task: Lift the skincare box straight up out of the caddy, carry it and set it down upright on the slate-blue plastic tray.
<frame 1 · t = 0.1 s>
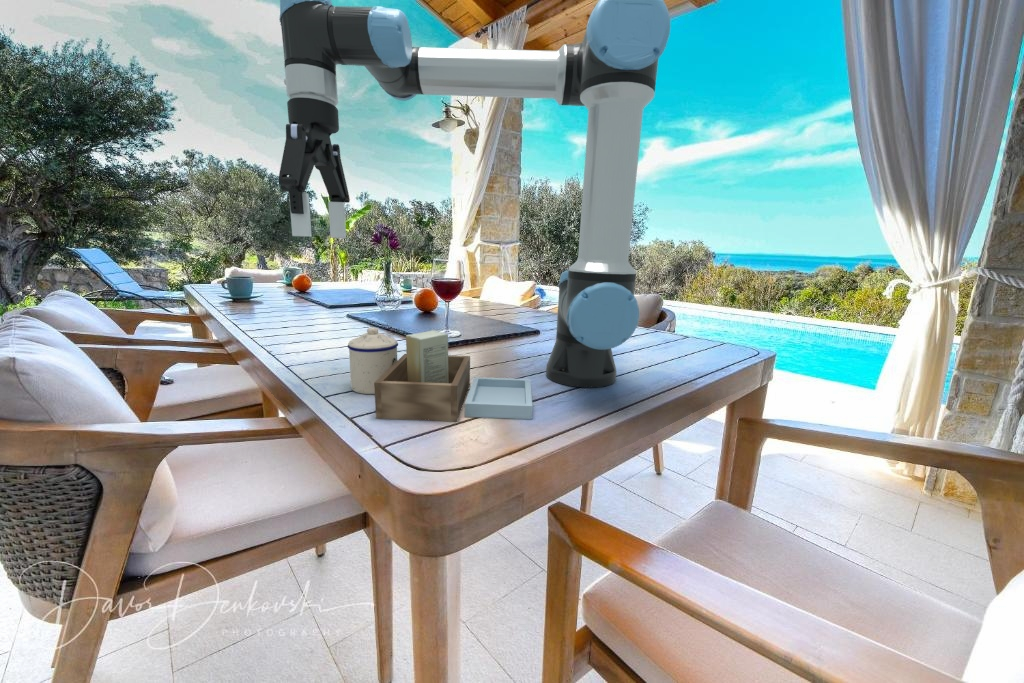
hand: (321, 237, 72), 28 cm above the table, tool pointing down, fingers open, 13 cm apart
skincare box: (428, 400, 75), resting in caddy
tray: (500, 402, 75), on the table
caddy: (428, 399, 75), on the table
cream lidded jar: (375, 385, 82), on the table
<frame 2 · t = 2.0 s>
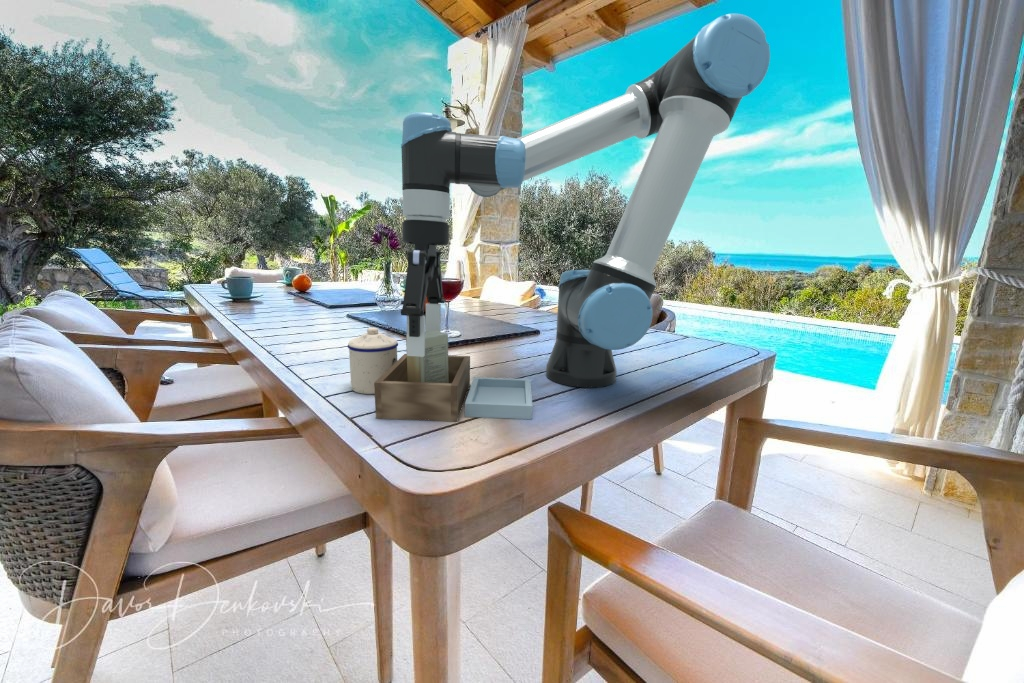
hand: (425, 346, 73), 10 cm above the table, tool pointing down, fingers open, 13 cm apart
nothing on the table moved.
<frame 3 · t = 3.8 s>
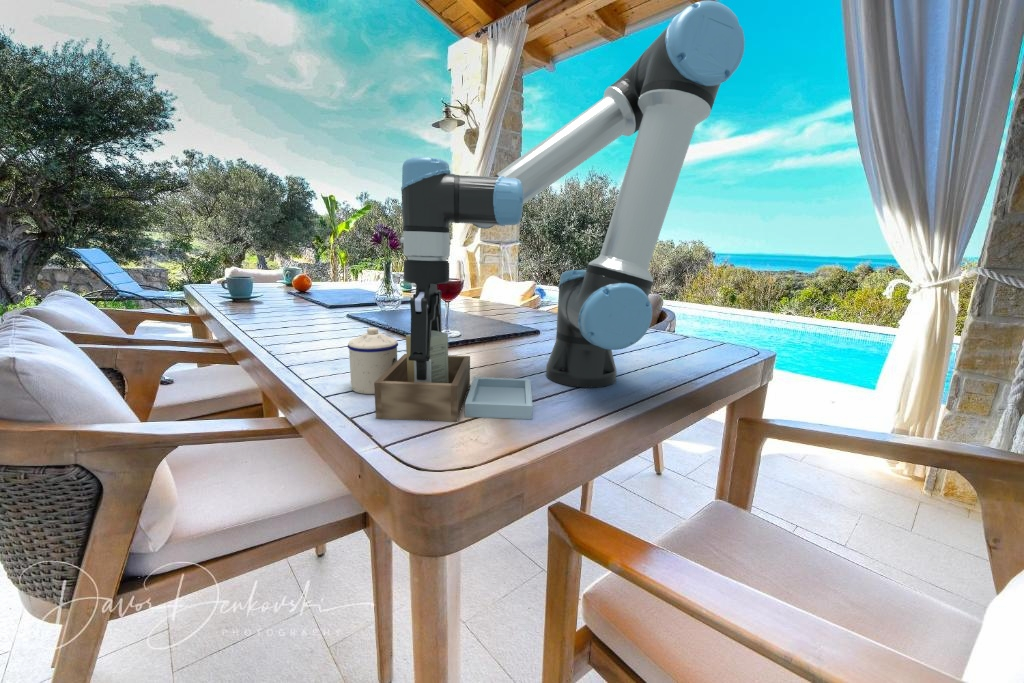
hand: (428, 388, 74), 2 cm above the table, tool pointing down, fingers closed on skincare box, 7 cm apart
skincare box: (428, 400, 75), resting in caddy, touching gripper
everything else where it was.
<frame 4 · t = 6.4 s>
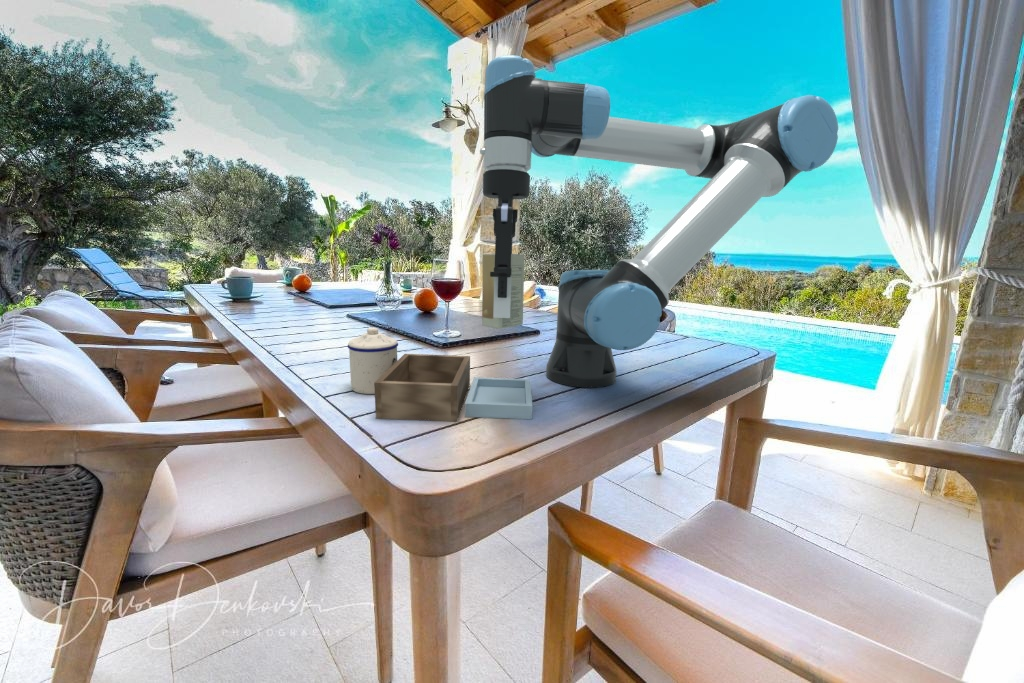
hand: (502, 313, 71), 16 cm above the table, tool pointing down, fingers closed on skincare box, 7 cm apart
skincare box: (502, 327, 72), point 14 cm above the table, touching gripper
everything else where it was.
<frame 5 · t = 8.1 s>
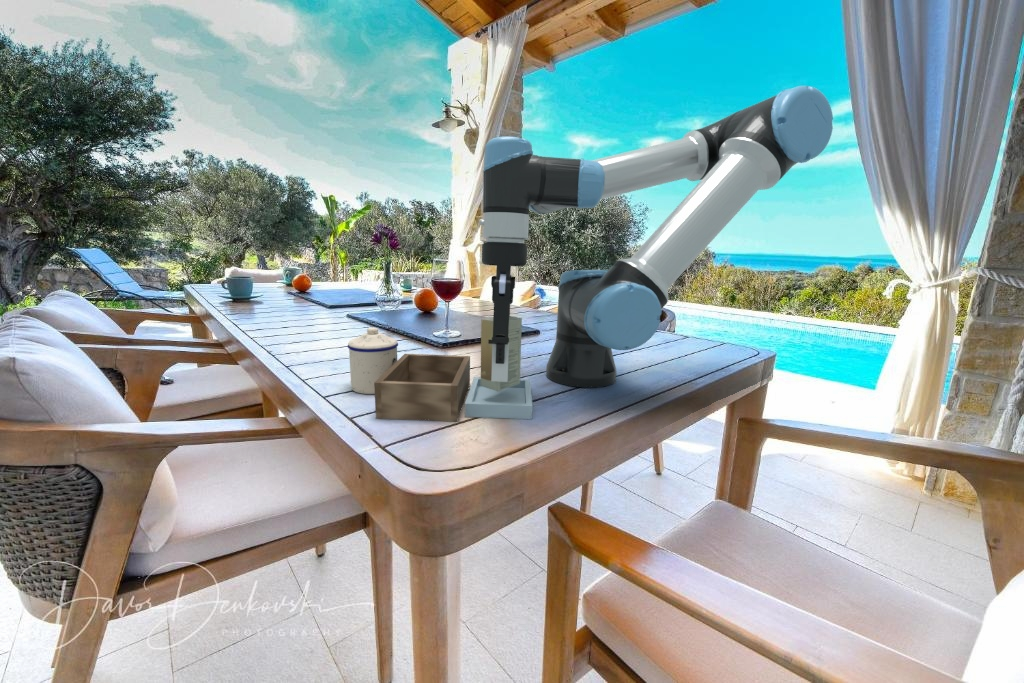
hand: (500, 373, 74), 5 cm above the table, tool pointing down, fingers closed on skincare box, 7 cm apart
skincare box: (499, 386, 74), point 3 cm above the table, touching gripper
everything else where it was.
when the fingers open (4 cm above the table, at t = 9.3 s): skincare box drops 1 cm, resting on tray.
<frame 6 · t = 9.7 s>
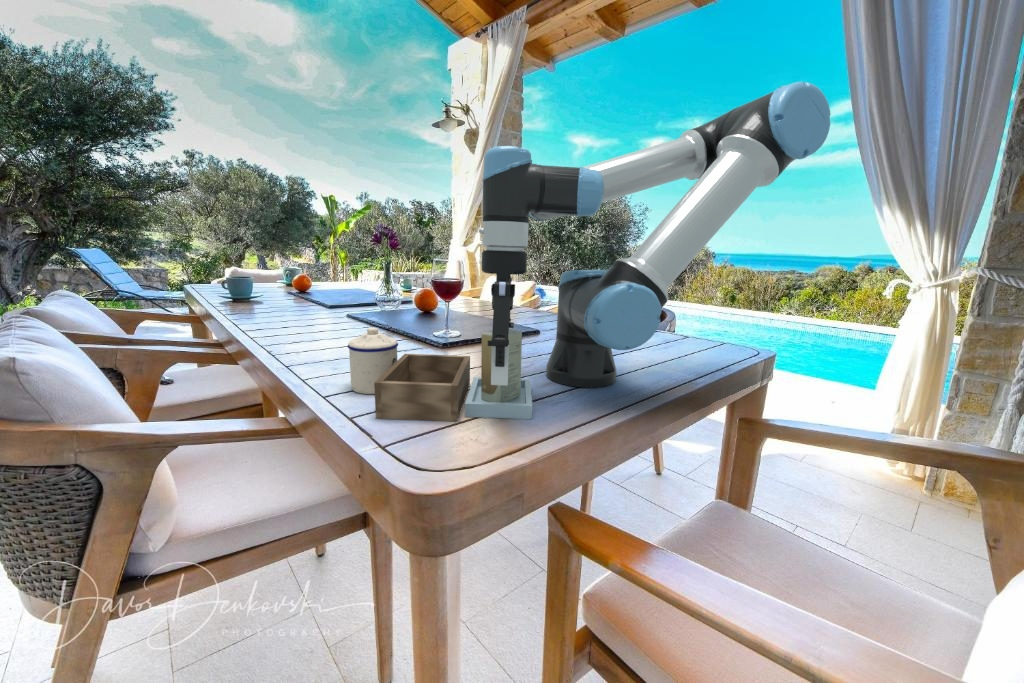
hand: (500, 372, 74), 6 cm above the table, tool pointing down, fingers open, 13 cm apart
skincare box: (500, 399, 75), point 1 cm above the table, touching tray
everything else where it was.
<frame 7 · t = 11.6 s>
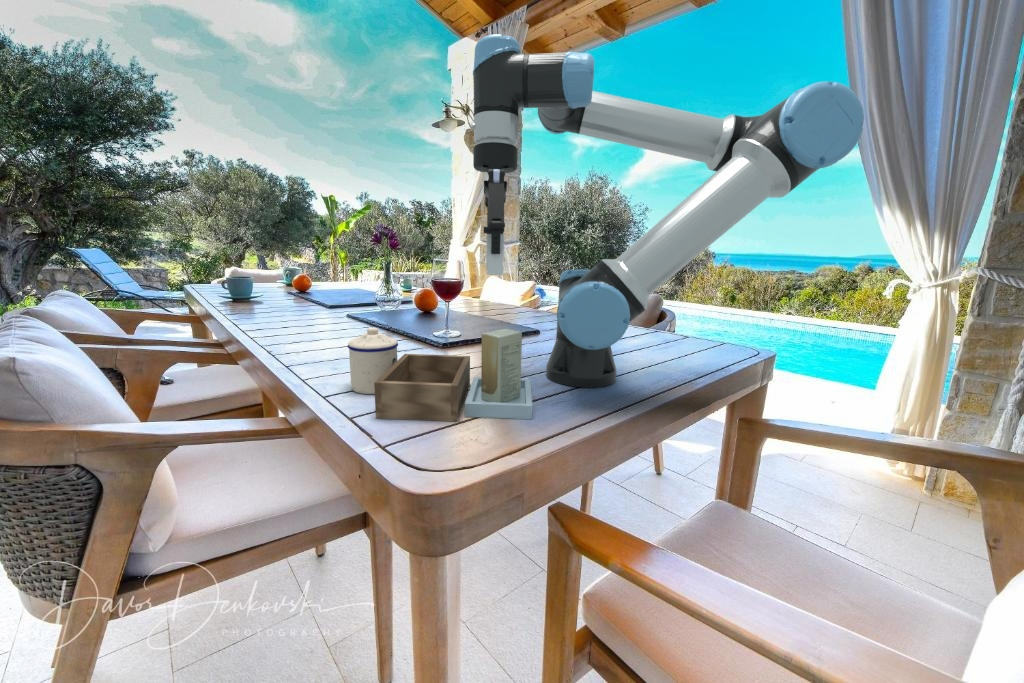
hand: (493, 272, 75), 23 cm above the table, tool pointing down, fingers open, 13 cm apart
nothing on the table moved.
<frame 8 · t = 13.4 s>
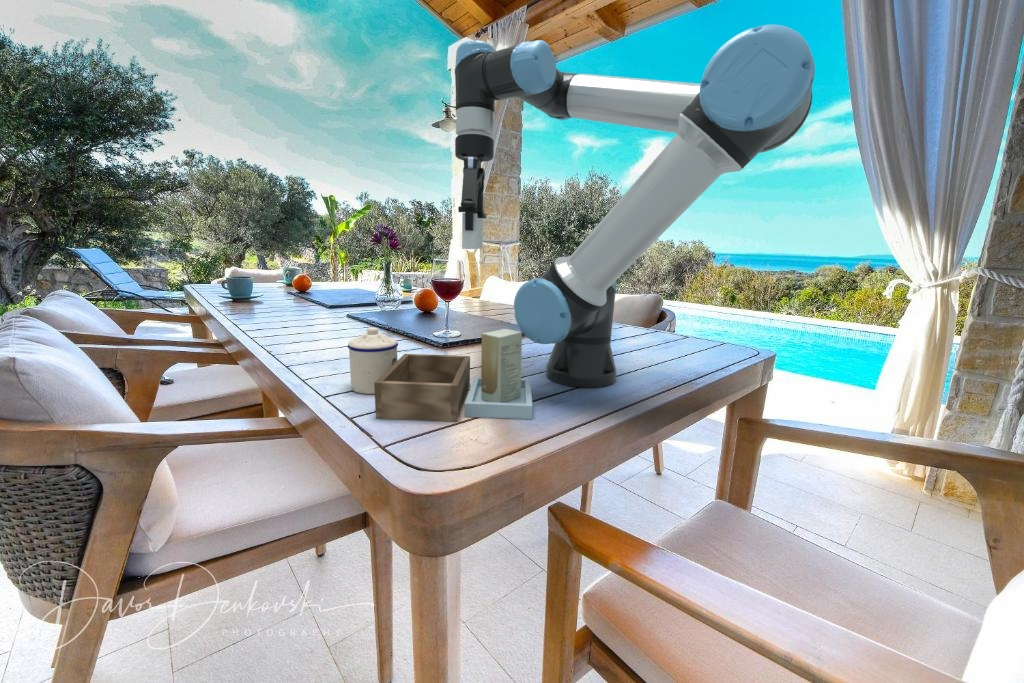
hand: (473, 249, 85), 27 cm above the table, tool pointing down, fingers open, 13 cm apart
nothing on the table moved.
at the end: skincare box inside the target area on the tray (0.1 cm from its centre), point 0.6 cm above the tray's base; skincare box tilted 0°; the gripper is holding nothing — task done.
